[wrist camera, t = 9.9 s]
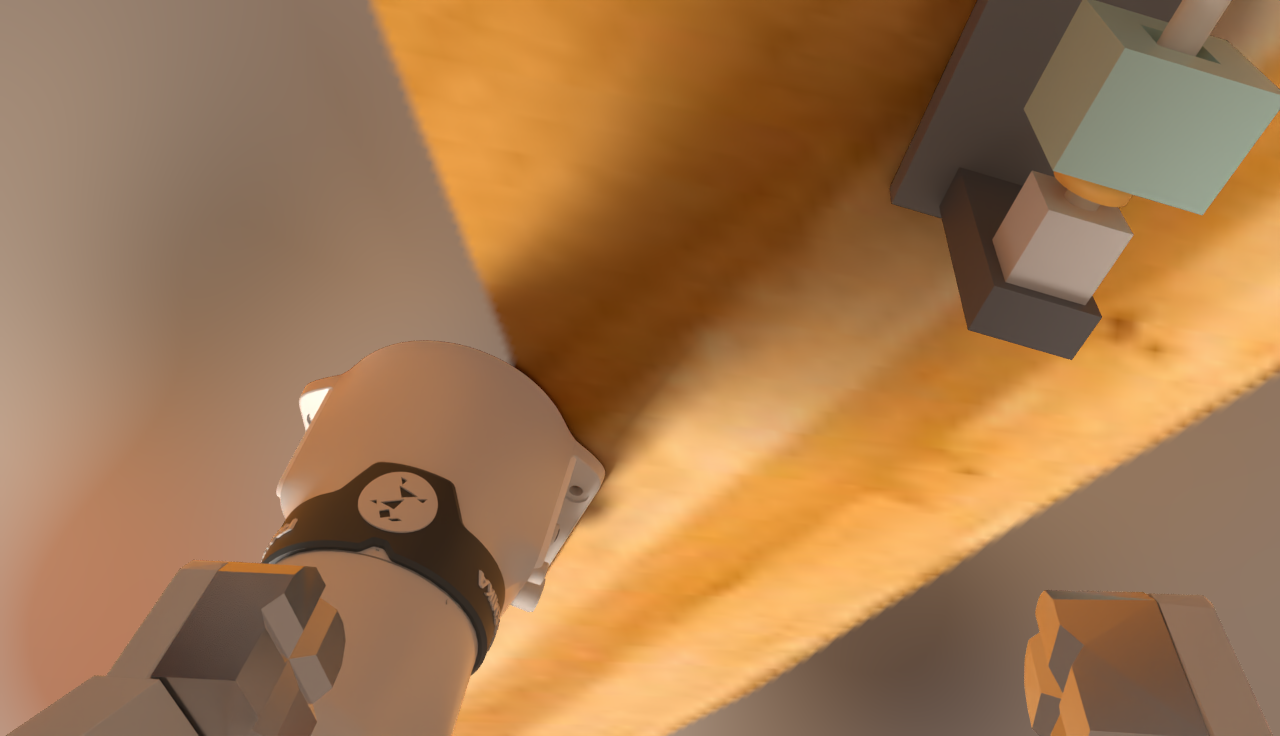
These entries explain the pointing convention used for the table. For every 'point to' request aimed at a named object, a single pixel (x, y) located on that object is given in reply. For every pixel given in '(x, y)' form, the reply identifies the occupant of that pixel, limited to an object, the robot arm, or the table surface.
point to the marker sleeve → (1148, 109)
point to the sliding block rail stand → (1022, 175)
